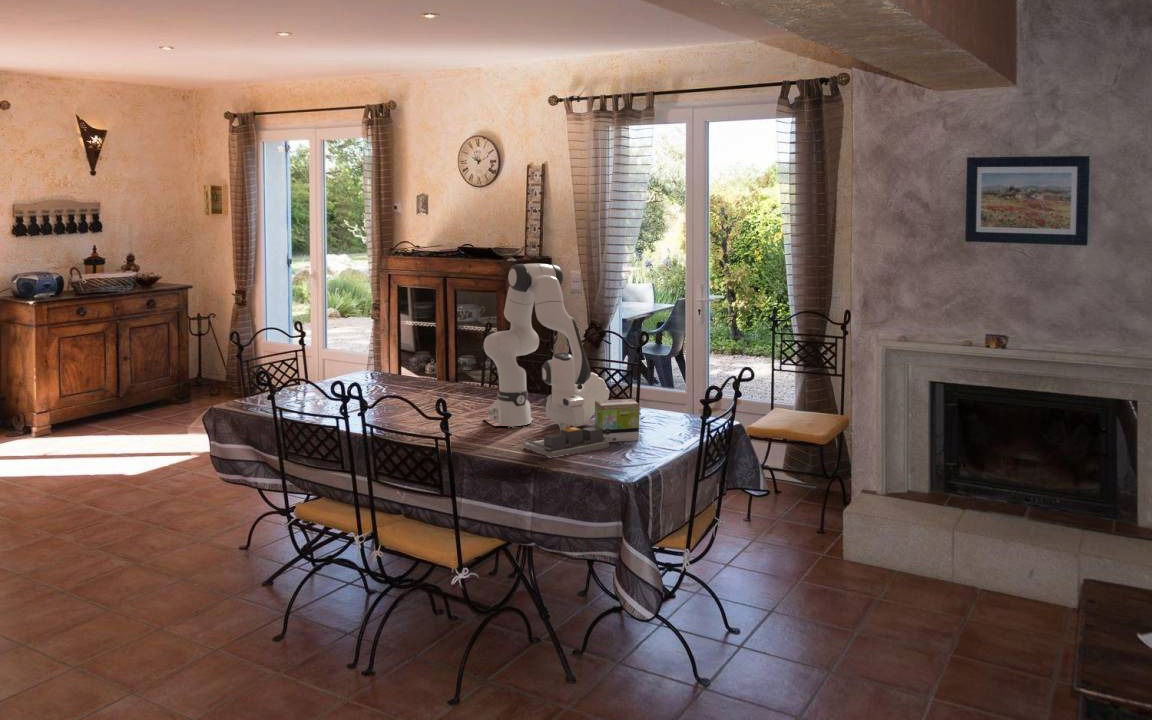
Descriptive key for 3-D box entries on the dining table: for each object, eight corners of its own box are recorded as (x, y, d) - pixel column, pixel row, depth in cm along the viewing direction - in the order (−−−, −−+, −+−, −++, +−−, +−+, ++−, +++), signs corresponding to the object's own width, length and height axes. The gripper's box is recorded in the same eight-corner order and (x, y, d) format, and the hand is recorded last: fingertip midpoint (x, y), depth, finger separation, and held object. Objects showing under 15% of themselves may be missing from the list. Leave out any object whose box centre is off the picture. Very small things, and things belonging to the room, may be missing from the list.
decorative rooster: (550, 430, 398) (549, 369, 394) (548, 422, 414) (547, 362, 410) (613, 428, 400) (612, 367, 396) (608, 420, 416) (608, 361, 412)
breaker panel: (523, 448, 370) (523, 430, 369) (580, 438, 385) (580, 420, 384) (551, 458, 356) (550, 439, 354) (608, 447, 370) (608, 428, 369)
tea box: (601, 444, 376) (601, 405, 373) (594, 438, 385) (593, 400, 383) (639, 440, 380) (639, 402, 377) (631, 435, 389) (631, 397, 387)
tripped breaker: (554, 443, 368) (554, 428, 367) (573, 439, 373) (573, 425, 372) (569, 448, 361) (568, 432, 360) (588, 444, 366) (588, 429, 365)
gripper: (541, 394, 375) (541, 430, 377) (572, 402, 358) (573, 440, 360) (554, 392, 378) (555, 428, 380) (586, 400, 362) (587, 437, 364)
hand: (564, 434), depth 370 cm, fingers closed
